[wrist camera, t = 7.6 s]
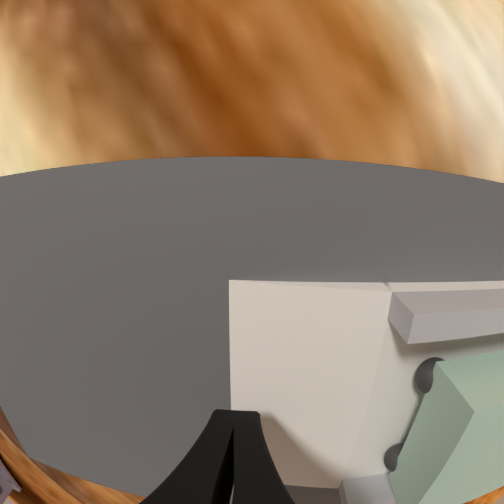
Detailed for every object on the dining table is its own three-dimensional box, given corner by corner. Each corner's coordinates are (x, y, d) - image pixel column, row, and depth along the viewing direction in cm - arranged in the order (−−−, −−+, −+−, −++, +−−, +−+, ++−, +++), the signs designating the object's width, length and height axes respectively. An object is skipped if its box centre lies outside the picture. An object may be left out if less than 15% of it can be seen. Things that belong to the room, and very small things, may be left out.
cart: (495, 430, 9) (525, 473, 6) (376, 461, 10) (395, 524, 6) (540, 328, 8) (589, 365, 5) (415, 347, 8) (465, 414, 5)
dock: (483, 460, 12) (506, 499, 8) (34, 448, 13) (7, 486, 9) (571, 202, 8) (628, 215, 5) (-40, 186, 9) (-100, 196, 6)
